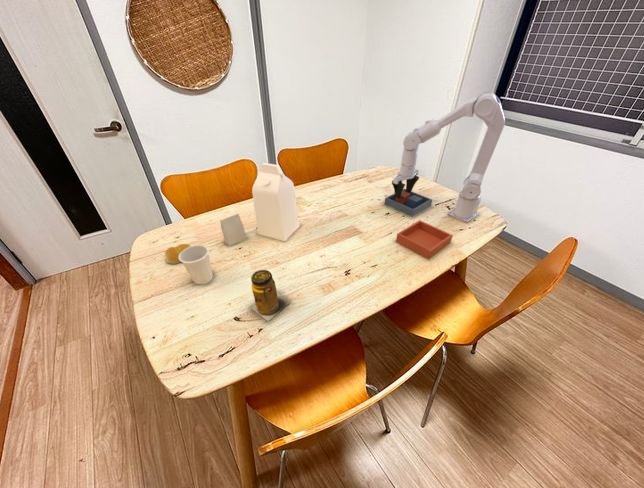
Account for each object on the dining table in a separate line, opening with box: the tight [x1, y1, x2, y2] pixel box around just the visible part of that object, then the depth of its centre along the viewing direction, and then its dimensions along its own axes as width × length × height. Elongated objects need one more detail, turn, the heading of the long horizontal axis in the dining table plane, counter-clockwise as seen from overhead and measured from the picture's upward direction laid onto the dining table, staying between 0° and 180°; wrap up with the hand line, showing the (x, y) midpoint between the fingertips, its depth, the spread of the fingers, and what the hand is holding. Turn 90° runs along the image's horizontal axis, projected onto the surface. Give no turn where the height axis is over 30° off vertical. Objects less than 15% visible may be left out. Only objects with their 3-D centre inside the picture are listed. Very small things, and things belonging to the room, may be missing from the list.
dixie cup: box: [179, 244, 214, 285], centre depth 84 cm, size 8×8×10 cm
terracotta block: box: [395, 190, 410, 205], centre depth 121 cm, size 4×4×4 cm
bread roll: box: [164, 243, 191, 264], centre depth 95 cm, size 8×9×4 cm
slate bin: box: [383, 188, 433, 218], centre depth 120 cm, size 14×15×4 cm
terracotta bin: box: [395, 219, 454, 260], centre depth 99 cm, size 14×14×4 cm
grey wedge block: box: [220, 213, 247, 247], centre depth 100 cm, size 4×7×10 cm, turn 131°
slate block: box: [406, 195, 423, 209], centre depth 117 cm, size 4×4×4 cm
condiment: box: [250, 269, 291, 322], centre depth 74 cm, size 7×8×12 cm
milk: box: [251, 162, 301, 242], centre depth 100 cm, size 12×12×26 cm
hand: (403, 194), depth 120 cm, fingers open, 7 cm apart
